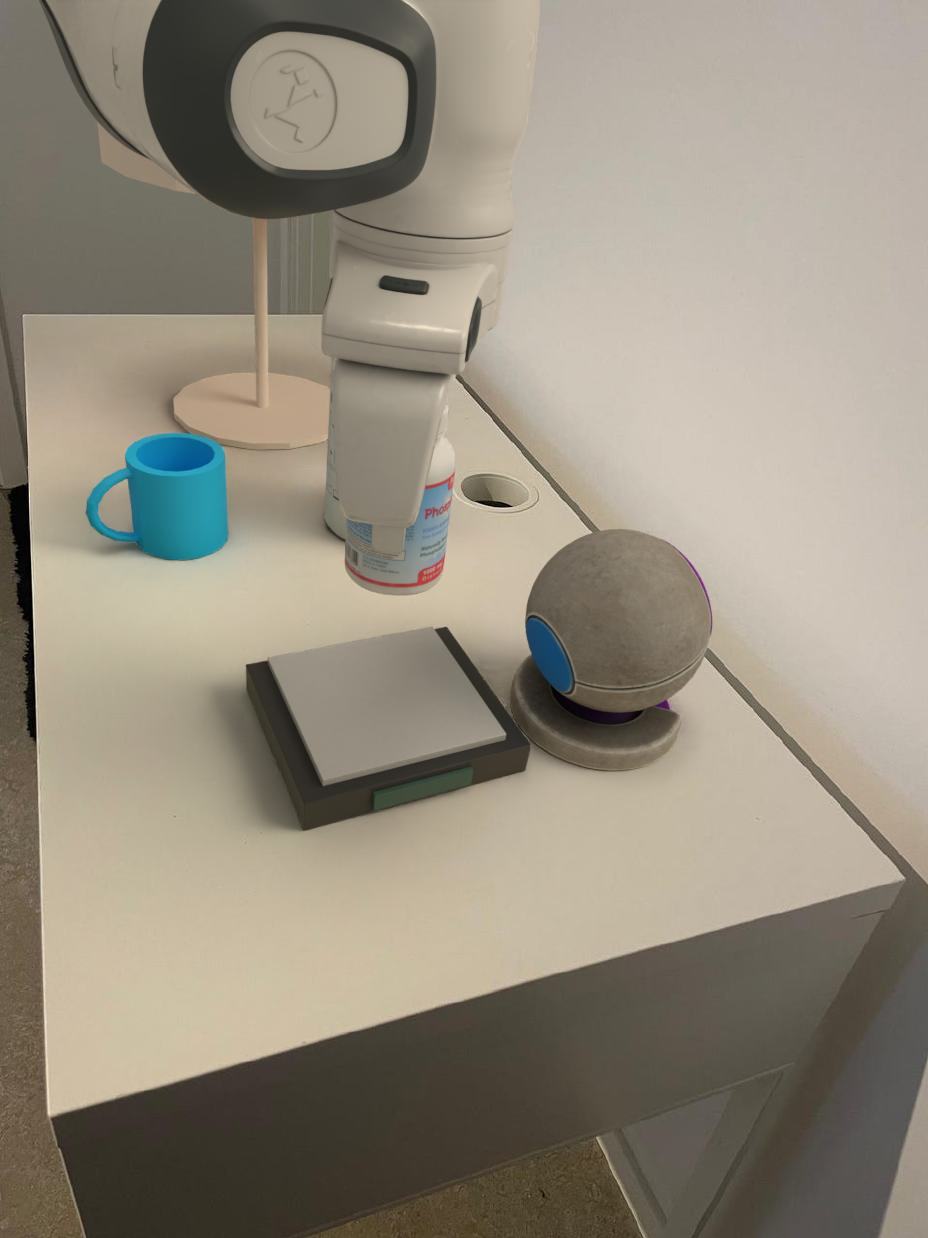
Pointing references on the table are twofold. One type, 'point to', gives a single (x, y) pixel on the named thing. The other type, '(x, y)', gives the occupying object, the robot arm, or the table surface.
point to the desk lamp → (240, 401)
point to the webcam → (610, 649)
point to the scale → (381, 723)
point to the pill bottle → (409, 535)
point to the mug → (171, 496)
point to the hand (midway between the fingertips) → (397, 514)
